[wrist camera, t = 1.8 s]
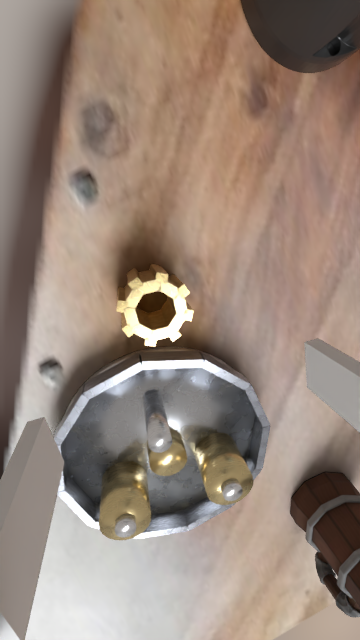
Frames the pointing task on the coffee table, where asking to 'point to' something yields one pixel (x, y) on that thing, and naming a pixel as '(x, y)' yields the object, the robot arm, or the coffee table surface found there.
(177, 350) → the carrier
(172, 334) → the planet gear
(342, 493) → the mug
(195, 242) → the coffee table surface
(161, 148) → the coffee table surface
